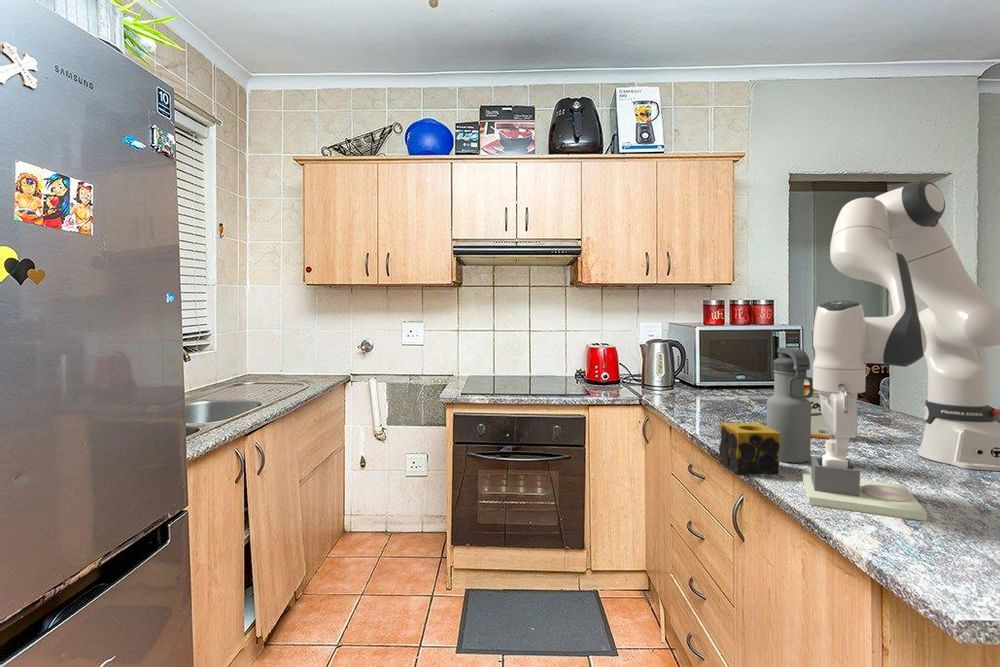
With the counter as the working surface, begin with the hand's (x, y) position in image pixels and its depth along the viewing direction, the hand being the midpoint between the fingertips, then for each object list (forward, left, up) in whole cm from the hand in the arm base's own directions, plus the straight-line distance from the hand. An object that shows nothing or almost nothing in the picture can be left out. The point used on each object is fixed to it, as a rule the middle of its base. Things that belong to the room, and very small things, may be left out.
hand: (837, 449), depth 102 cm
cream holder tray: (-4, 0, -9) cm, 10 cm away
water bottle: (+7, -25, -10) cm, 28 cm away
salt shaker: (0, 0, -8) cm, 8 cm away
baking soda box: (-2, -54, -10) cm, 55 cm away
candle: (+16, -12, -10) cm, 23 cm away
